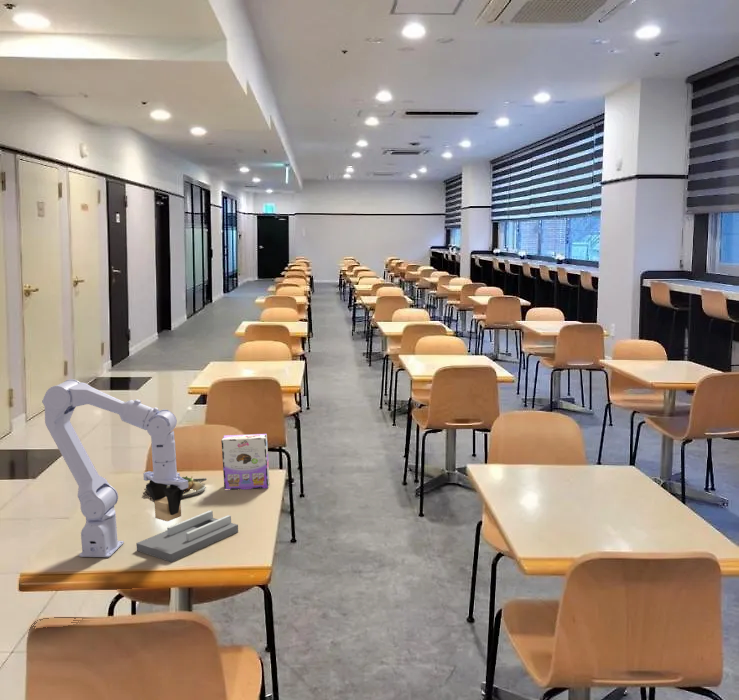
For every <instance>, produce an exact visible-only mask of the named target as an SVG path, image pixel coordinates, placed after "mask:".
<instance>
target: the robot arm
mask: <svg viewBox="0 0 739 700" xmlns="http://www.w3.org/2000/svg"><path fill="white" fill-rule="evenodd" d="M141 402H142V400H140V399H138V398H137V399H134V400H133V399H130V400H127V401H123V400H121V399H119V398H117V397H114V396H112V395H111V394H108V393H106V392H104V391H101V390H99V389H97V388H95V387H93V386H91V385H90V384H88V383H87V382H82V381H81V382H80V381H79V380H77V379H74V378H72V379H71V378H70V379H66V380H65V381H64V382H61V383H59V384H56V385H52V386H50V387H49V388H48V389H47V390H46V392H45V394H44V396H43V398H42V402H41V403H42V405H43V406H44V424H45V426H46V428H47V430H48V432H49V434H50V435H51V438H52V439H53V441H54V442H55V445H56V447H57V449H58V450H59V452H60V454H61V456H62V458H63V460H64V462H65V463H66V466H67V467H68V469H69V471H70V473H71V475H72V477H73V478H74V480H75V482H76V484H77V485H78V489H77V499H78V501H79V502H80V503H79V504H80V512H81V514H82V515H83V516H84V517H85V524H84V526H83V528H82V529H81V532H80V539H81V550H82V551H81V552H80V553H79V554H78V556H79V557H80V558H83V557H84V558H110V557H112V555H114V553H115V552H116V551H117V550H118V549H119V548H121V546H122V545H123V544H124V543H125V541H124V540H118V529H117V528H118V527H117V516H116V515H117V513H116V512H117V511H116V509H115V506H116V505H117V503H118V500H119V494H118V491H117V489H116V488H115V487H114V486H112V485H111V484H110V483H109V482H108V480H107V478H105V477H104V476H102V475H100V474H99V473H98V471H97V469H96V468H95V466H94V464H93V462H92V459H91V458H90V456H89V454H88V453H87V450H86V449H85V447H84V444H83V443H82V441H81V439H80V437H79V435H78V434H77V432H76V430H75V428H74V426H73V424H72V422H71V418H72V415H73V413H74V411H75V409H76V407H82V406H85V405H90V406H93V407H96V408H99V409H102V410H105V411H108V412H110V413H113V414H117V415H118V416H119V418H120V419H121V421H122V422H124V423H126V424H129V425H132V426H134V427H135V428H136V427H137V428H139V429H142V430H144V431H146V432H147V433H148V435H150V440H151V458H152V459H151V461H152V471H150V470H148V471H146V472H143V480H144V481H146V482H147V481H149V482H150V484H147V483H146V485H145V489H146V488H147V490H148V491H149V493H150V494H151V496H152V498H151V499H152V500H153V503H154V505H155V502H154V501H155V500H158V499H161V498H164V497H165V494H166V497H167V500H168V505H169V512H170V515H174V514H176V513H178V511H179V506H180V502H181V501H182V499H183V498H182V496H183V495H184V494H183V493H185V492H184V491H185V490H186V488H188V480H185V479H183V478H182V477H183V476H181V475H180V472H178V471H177V455H176V441H175V429H176V427H177V418H176V415H175V414H174V412H172V411H170V410H169V409H165V408H164V409H161V410H159V407H156V406H155V407H152V406H149V405H147V404H143V403H141ZM167 485H170V487H169V488H166V487H167ZM181 498H182V499H181Z"/></svg>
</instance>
